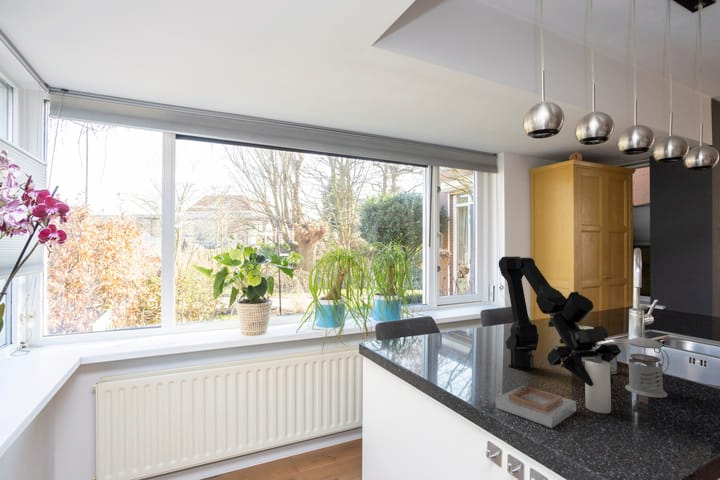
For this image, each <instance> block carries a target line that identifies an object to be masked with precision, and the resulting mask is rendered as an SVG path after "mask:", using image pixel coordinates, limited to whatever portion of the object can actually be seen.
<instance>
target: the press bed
mask: <svg viewBox="0 0 720 480" xmlns="http://www.w3.org/2000/svg"><path fill="white" fill-rule="evenodd" d="M495 409H498V410H502V411H503V412H506V413H509V414H511V415H512V414H513V415H515V416H518V417H520V418H523V419H524V420H525V419H526V420H528V421H530V422H531V421H532V422H534V423H537V424H540V425H543V426H545V427H548V428H550V429H553V428H555V427H556V426H557V425H559V424H561V422H563V421H564V420H566V419H567V418H569V417H570V416H571V415H573V414H575V412H577V401H576V400H573V399H571V398H566V397H563V396H562V395H558V394H554V393H551V392H548V391H545V390H541V389H537V388H535V387H531V386H527V385H520V386H517V388H514V389H512V390H510V391H508V392H505V393H504V394H502V395H500V396H498V397H496V398H495Z"/></svg>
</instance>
